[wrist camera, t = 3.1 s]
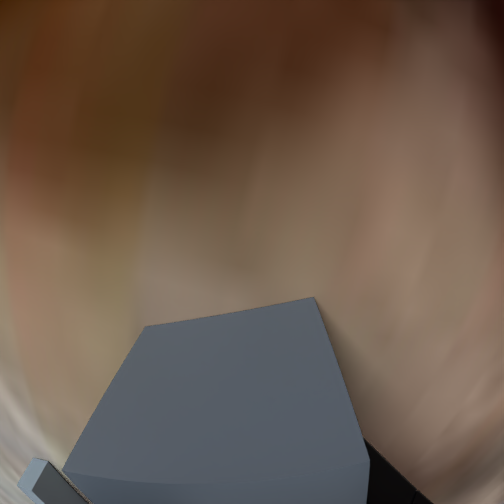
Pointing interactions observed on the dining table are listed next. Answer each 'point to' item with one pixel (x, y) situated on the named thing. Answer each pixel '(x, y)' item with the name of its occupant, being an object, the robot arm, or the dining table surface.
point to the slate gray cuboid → (226, 417)
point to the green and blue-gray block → (47, 485)
